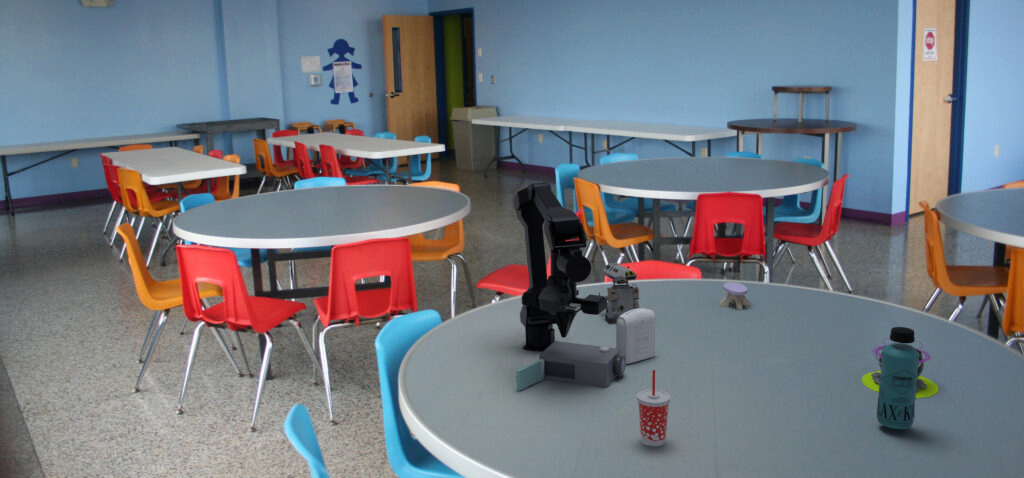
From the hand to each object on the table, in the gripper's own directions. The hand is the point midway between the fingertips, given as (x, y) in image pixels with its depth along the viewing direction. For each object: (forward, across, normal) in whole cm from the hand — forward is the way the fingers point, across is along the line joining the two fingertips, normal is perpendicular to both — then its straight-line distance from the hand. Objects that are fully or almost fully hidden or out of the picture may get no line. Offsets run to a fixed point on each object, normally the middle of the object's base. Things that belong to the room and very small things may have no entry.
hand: (564, 336), depth 181 cm
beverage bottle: (+9, +68, +1) cm, 69 cm away
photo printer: (+10, +11, +16) cm, 22 cm away
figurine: (+10, -4, +44) cm, 46 cm away
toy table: (+10, +22, +69) cm, 73 cm away
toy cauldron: (+9, +68, +25) cm, 73 cm away
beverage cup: (+9, +29, -22) cm, 38 cm away
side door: (+9, -5, -8) cm, 13 cm away
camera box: (+9, +3, +2) cm, 10 cm away
